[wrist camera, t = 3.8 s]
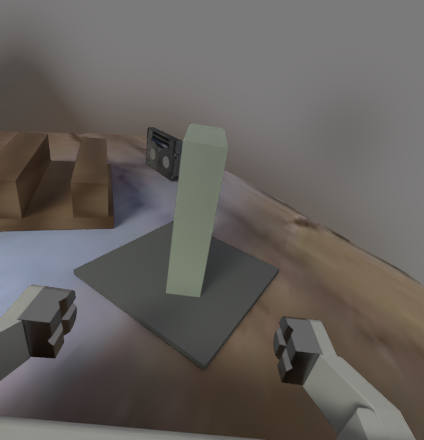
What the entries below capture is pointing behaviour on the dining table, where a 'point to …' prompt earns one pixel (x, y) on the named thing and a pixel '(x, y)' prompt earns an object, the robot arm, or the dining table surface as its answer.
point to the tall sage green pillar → (195, 207)
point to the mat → (180, 304)
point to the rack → (54, 186)
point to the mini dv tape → (164, 153)
